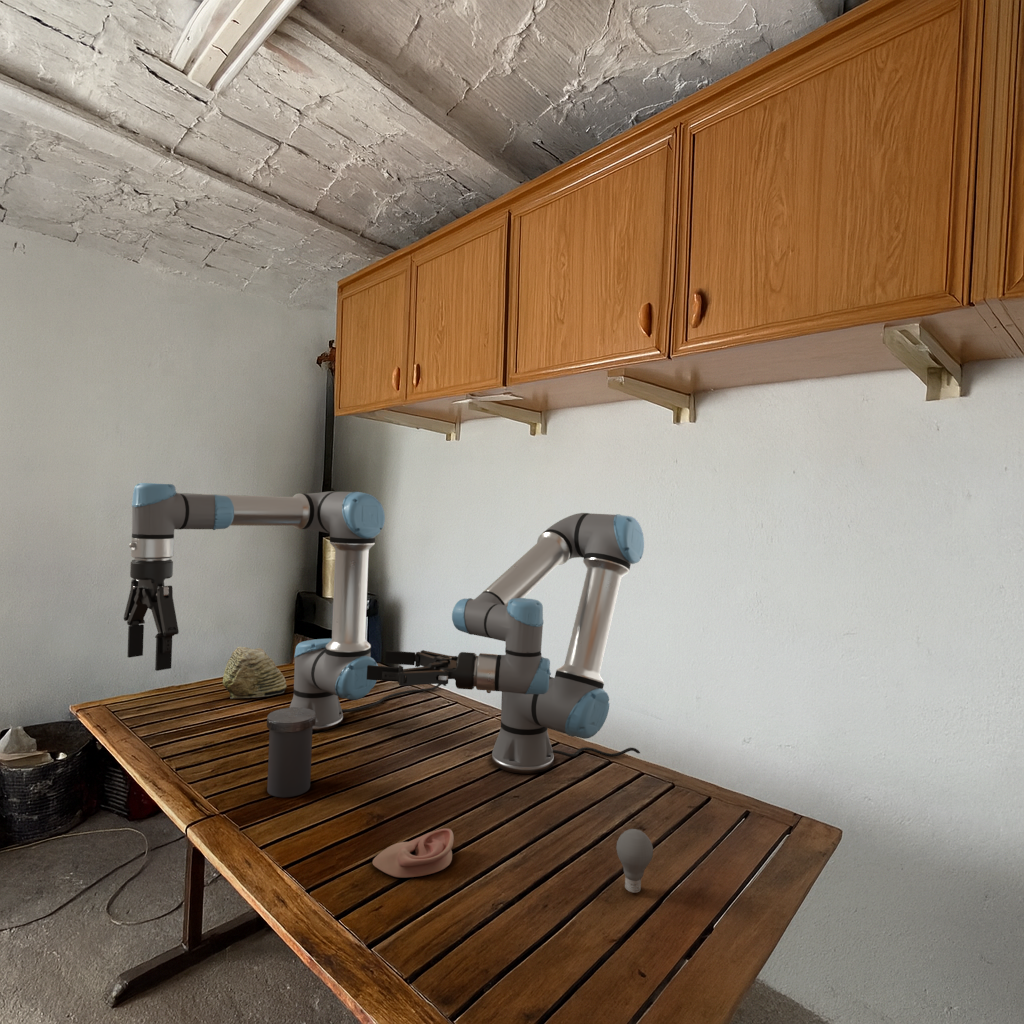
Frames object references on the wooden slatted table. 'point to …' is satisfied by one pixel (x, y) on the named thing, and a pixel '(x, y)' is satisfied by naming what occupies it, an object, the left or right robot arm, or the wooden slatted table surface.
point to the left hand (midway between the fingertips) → (148, 662)
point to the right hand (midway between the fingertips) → (376, 664)
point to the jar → (289, 763)
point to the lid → (291, 719)
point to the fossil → (252, 674)
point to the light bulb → (634, 857)
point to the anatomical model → (417, 855)
